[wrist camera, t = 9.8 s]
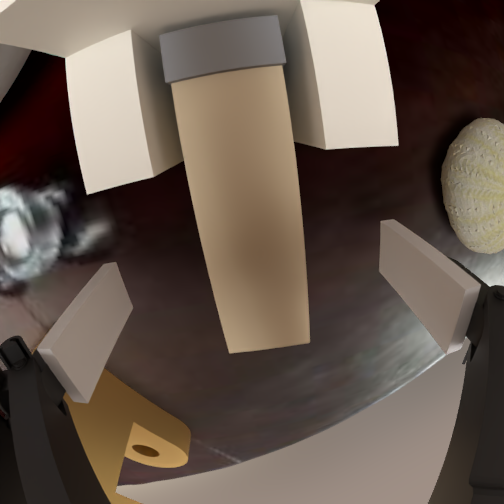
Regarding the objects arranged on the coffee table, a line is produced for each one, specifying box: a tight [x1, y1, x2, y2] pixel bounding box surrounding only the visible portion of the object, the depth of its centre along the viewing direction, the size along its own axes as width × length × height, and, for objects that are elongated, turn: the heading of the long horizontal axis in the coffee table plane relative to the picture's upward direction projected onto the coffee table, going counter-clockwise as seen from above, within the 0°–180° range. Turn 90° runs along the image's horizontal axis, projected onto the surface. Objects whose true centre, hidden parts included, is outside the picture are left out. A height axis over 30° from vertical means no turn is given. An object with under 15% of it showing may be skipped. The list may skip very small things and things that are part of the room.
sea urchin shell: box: [440, 118, 504, 254], centre depth 14 cm, size 9×8×8 cm
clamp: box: [31, 325, 191, 504], centre depth 17 cm, size 20×9×16 cm, turn 39°
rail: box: [159, 15, 310, 353], centre depth 13 cm, size 4×14×6 cm, turn 8°
